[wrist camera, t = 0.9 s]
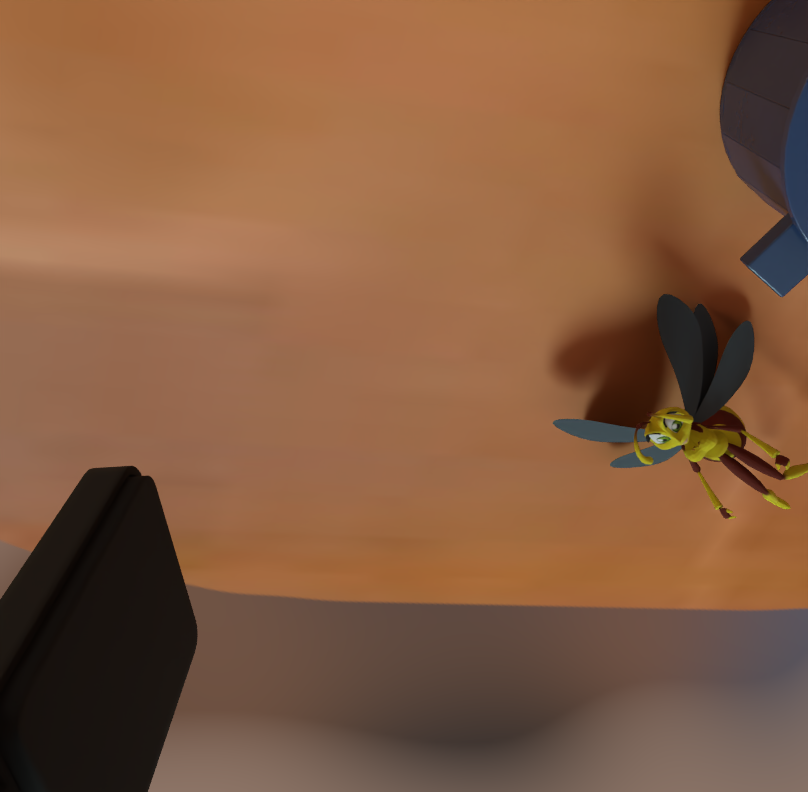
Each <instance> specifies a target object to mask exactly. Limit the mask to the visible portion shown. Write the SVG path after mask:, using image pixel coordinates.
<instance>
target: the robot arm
mask: <svg viewBox="0 0 808 792" xmlns="http://www.w3.org/2000/svg"><path fill="white" fill-rule="evenodd" d="M196 645H197V624H196V620H195V616H194V613H193V610H192V606H191V603H190V600H189V596H188V593H187V590H186V586H185V583H184V579H183V576H182V573H181V569H180V566H179V562H178V559H177V556H176V552H175V549H174V546H173V542H172V539H171V536H170V532H169V529H168V525H167V522H166V519H165V515H164V512H163V509H162V505H161V502H160V499H159V495H158V492H157V488H156V485H155V483H154V480H153V479H152V478H151V477H150V476H141V473H140V472H139V470H138V469H137V468H136V467H134V466H122V467H106V468H93V469H89V470H88V471H87V472H86V473H85V474H84V476H83V477H82V479H81V480H80V482H79V483H78V485H77V486H76V488H75V489H74V491H73V492H72V494H71V495H70V497H69V498H68V500H67V501H66V503H65V504H64V506H63V507H62V509H61V510H60V511H59V513H58V514H57V516H56V517H55V519H54V520H53V522H52V523H51V525H50V526H49V528H48V529H47V531H46V532H45V534H44V535H43V537H42V538H41V540H40V541H39V543H38V544H37V546H36V547H35V549H34V550H33V552H32V553H31V555H30V556H29V558H28V559H27V561H26V562H25V564H24V565H23V567H22V568H21V570H20V571H19V573H18V574H17V576H16V577H15V579H14V580H13V581H12V583H11V584H10V586H9V587H8V589H7V591H6V592H5V593H4V595H3V596H2V598H1V599H0V792H148V789H149V786H150V783H151V780H152V777H153V774H154V772H155V768H156V766H157V763H158V759H159V756H160V754H161V751H162V748H163V745H164V742H165V739H166V736H167V733H168V730H169V727H170V724H171V721H172V718H173V715H174V712H175V709H176V706H177V703H178V700H179V697H180V694H181V691H182V688H183V686H184V682H185V679H186V677H187V674H188V671H189V668H190V665H191V662H192V659H193V656H194V653H195V649H196Z"/></svg>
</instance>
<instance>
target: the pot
mask: <svg viewBox="0 0 808 792" xmlns="http://www.w3.org/2000/svg"><path fill="white" fill-rule="evenodd" d="M807 68H808V0H771V1H770V2H769V3H768V4H767V5H766V6H765V8H764V9H763V10H762V11H761V12H760V14H759V15H758V16H757V17H756V19H755V20H754V21H753V23H752V24H751V26H750V27H749V29H748V30H747V32H746V33H745V35H744V36H743V38H742V40H741V42H740V44H739V46H738V47H737V49H736V51H735V53H734V55H733V58H732V61H731V63H730V66H729V68H728V71H727V74H726V78H725V82H724V86H723V90H722V97H721V105H720V125H721V133H722V139H723V143H724V147H725V150H726V153H727V155H728V158H729V160H730V162H731V165H732V166H733V168H734V169H735V171H736V174H737V176H738V177H739V178H740V179H741V180H742V181H744V183H745V184H746V185H747V186H748V187H749V188H750V189H752V190H753V191H754V192H755V193H756V194H757V195H758V196H759V197H760V198H762V199H763V200H764V201H765V202H766V203H767V204H768V205H770V206H771V207H772V208H774V209H775V210H777V211H778V212H779V213H781V214H782V215H783V216H784V217H783V218H782V219H781V220H780V221H779V222H778V223H777V224H776V225H775V226H774V227H773V228H772V229H770V230H769V231H768V232H767V233H766V234H765V235H764V236H763V237H762V238H761V239H760V240H759V241H758V242H757V243H756V244H755V245H754V246H753V247H751V248H750V249H749V250H748V251H747V252H746V253H745V254H744V255H743V256H742V257H741V258H740V260H741V261H742V262H743V263H744V264H745V265H746V266H747V267H748V268H749V269H750V270H751V271H752V272H753V273H755V274H756V275H757V276H758V277H759V278H760V279H761V280H762V281H763V282H765V283H766V284H767V285H768V286H769V287H770V288H771V289H772V290H774V291H775V292H776V293H777V294H778V295H779V296H780V297H783V296H785V295H786V294H787V293H788V292H789V291H790V290H791V289H792V288H793V287H795V286H796V285H797V284H798V283H799V282H800V281H801V280H802V279H804V278H805V277H806V276H807V275H808V243H807V242H806V241H805V240H804V239H803V238H802V236H801V234H800V233H799V231H798V230H797V228H796V226H795V225H794V223H793V221H792V219H791V216H790V214H789V212H788V209H787V207H786V203H785V199H784V195H783V191H782V186H781V174H780V155H781V143H782V137H783V131H784V126H785V122H786V118H787V115H788V112H789V109H790V105H791V102H792V99H793V97H794V95H795V92H796V90H797V88H798V86H799V83H800V81H801V79H802V77H803V75H804V73H805V71H806V70H807Z"/></svg>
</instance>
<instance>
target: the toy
mask: <svg viewBox="0 0 808 792" xmlns="http://www.w3.org/2000/svg"><path fill="white" fill-rule="evenodd" d="M657 320H658V327H659V332H660V336H661V339H662V342H663V345H664V347H665V350H666V352H667V355H668V357H669V359H670V362H671V364H672V367H673V369H674V372H675V374H676V377H677V380H678V383H679V387H680V390H681V394H682V398H683V402H684V406H685V410H684V409H681V408H679V407H669V408H665V409H662V410H660V411H658V412H656V413H651V412H648V413H647V416H648V417H651V416H652V417H651V419H650V420H649V421H648V422H642V423H639V424H637V425H636V428H630V427H624V426H618V425H612V424H607V423H601V422H596V421H589V420H580V419H559V420H555V421H554V422H553V424H554V425H555V426H556V427H557V428H559V429H561V430H562V431H564V432H567V433H569V434H571V435H574V436H577V437H579V438H583V439H587V440H591V441H599V442H634V448H635V452H633V453H630V454H627V455H624V456H622V457H619V458H617V459H615V460H614V461H613V462H611V464H610V466H612V467H616V468H632V467H642V466H649V465H654V464H658V463H661V462H664V461H666V460H668V459H669V458H671V457H672V456H674V455H675V454H676V453H677V452H679V451H680V450H681V449H683V452H684V454H685V456H686V457H687V458H688V459H689V461H690V464H691V466H692V468H693V471H694V472H697V473H698V475H699V477H700V479H701V481H702V483H703V485H704V487H705V489H706V491H707V493H708V495H709V497H710V499H711V501H712V503H713V505H714V507H715V509H716V510H718V509H720V512H721V514H722V515H723V517H724V518H726V519H727V518H728V519H732V518H736V517H735V516H731V515H729V514H728V513H733V512H732V511H730V510H728V509H726V508H722V507H723V505H722V504H721V503H720V501H719V500H718V498H717V497H716V496H715V494H714V493H713V491H712V490H711V488H710V487H709V485H708V484H707V482H706V481H705V479H704V477H703V476H702V474H701V473H700V467H699V465H698V464H697V463H696V462H698V461H700V460H701V459H702V458H704V459H706V460H710V461H714V462H720V461H722V463H723V464H724V465H725V466H726V467H727V468H728V469H729V470H730V471H731V472H732V473H734V474H735V475H736V476H737V477H739V478H740V479H741V480H742V481H744V482H745V483H746V484H748V485H749V486H751V487H752V488H754V489H755V490H757V491H759V492H761V493H762V495H763V497H764V498H765V499H766V500H768V501H770V502H771V503H773V504H775V505H776V506H778V507H781V508H783V509H790V506H789V504H788V503H787V502H786V501H784V500H782V499H781V498H779V497H777V496H776V495H775V493H774V492H773V491H772V490H769V489H766V488H765V487H764V486H763V484H762V483H761V482H760V481H759V480H758V479H757V478H756V477H755V476H754V475H753V474H752V473H751V472H750V471H749V470H748V469H747V468H745V467H744V466H743V465H741V464H740V463H739V462H738V461H736V460H735V459H733V458H735V457H737V458H738V459H740V460H741V461H743V462H744V463H745V464H747V465H748V466H750V467H752V468H754V469H756V470H758V471H760V472H762V473H764V474H766V475H768V476H771V477H773V478H776V479H779V480H782V479H793V478H796V477H799V476H801V475H803V474H805V473H807V472H808V463H807V464H801V465H795V466H792V467H789V465H790V461H789V459H788V458H787V457H785V456H782V455H779V454H780V451H778V450H776V449H774V448H773V447H771V446H769V445H768V444H766V443H764V442H762V441H761V440H759V439H757V438H756V437H754V436H752V435H750V434H749V433H747V432H746V430H745V426H744V423H743V422H742V420H741V418H740V417H739V416H738V415H737V414H736V413H735V412H734V411H733V410H731V409H730V408H728V407H726V406H724V405H725V404H726V403H727V402H728V400H729V399H730V398H731V397H732V396H733V395H734V393H735V392H736V391H737V390H738V388H739V387H740V386H741V384H742V383H743V381H744V380H745V378H746V376H747V374H748V372H749V370H750V367H751V364H752V360H753V353H754V332H753V327H752V324H751V322H749V321H745V322H743V323H742V324H741V325H740V326H739V327H738V328H737V329H736V330H735V332H734V333H733V334H732V336H731V338H730V340H729V341H728V344H727V346H726V348H725V350H724V353H723V355H722V358H721V360H720V363H719V366H718V368H717V371H716V373H715V369H716V365H717V357H718V343H717V336H716V332H715V328H714V325H713V322H712V320H711V317H710V315H709V313H708V311H707V309H706V308H705V307H704V306H703V305H702V304H698V305H697V306H696V308H695V311H694V313H693V312H692V311H691V310H690V308H689V307H688V306H687V305H686V304H685V303H683V302H682V301H681V300H680V299H678V298H676V297H674V296H672V295H668V294H663V295H662V296H661V297H660V298H659V301H658V305H657ZM714 374H715V376H714ZM645 424H648V425H647V427H646V429H640V428H641V427H642V426H643V425H645ZM746 437H748V438H749V439H751V440H752V441H753V442H754V443H756V444H757V445H758V446H760V447H761V448H762V449H763V450H764V451H765V452H766V453H768V454H769V455H770V456H771V457H772V458H776V461H775V464H776V467H777V469H778V470H780V465H783V466H785V468H786V470H785V471H784V473H783V475H782V474H781V473H779V472H778V471H777V470H776V469H775V468H773V467H772V466H771V465H770V464H768V463H767V462H765V461H764V460H762V459H761V458H759V457H758V456H756V455H754V454H752V453H751V452H749V451H747V450H745V449H743V448H744V446H745V444H746ZM645 441H647V442H648V443H649V441H651V442H653V443H654V446H652V447H649V448H646V449H643V450H640V449H639V446H638V443H637V442H645Z"/></svg>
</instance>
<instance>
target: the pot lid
mask: <svg viewBox="0 0 808 792" xmlns="http://www.w3.org/2000/svg"><path fill="white" fill-rule="evenodd" d="M780 174H781V186H782V191H783V195H784V199H785V203H786V207H787V209H788V212H789V214H790V216H791V219H792V221H793V223H794V225H795V226H796V228H797V230H798V231H799V233H800V234H801V236H802V238H803V239H804V240H805V241H806V242H807V243H808V68H807V70H806V71H805V73H804V75H803V77H802V79H801V81H800V83H799V86H798V88H797V90H796V92H795V95H794V97H793V99H792V102H791V105H790V109H789V112H788V115H787V118H786V122H785V126H784V131H783V137H782V143H781V155H780Z"/></svg>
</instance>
